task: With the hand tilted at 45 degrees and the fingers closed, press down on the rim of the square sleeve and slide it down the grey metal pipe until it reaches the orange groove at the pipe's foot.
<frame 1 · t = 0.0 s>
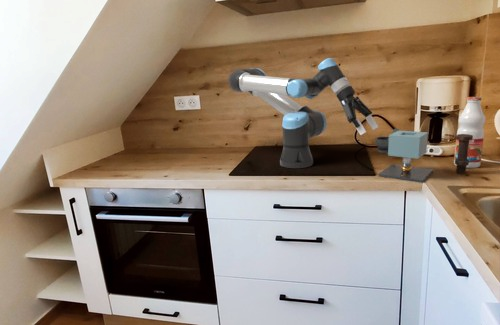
hand: (370, 130, 148), 15 cm above the countertop, tool tilted 35°, fingers open, 13 cm apart
pipe stand: (405, 174, 137), on the countertop
sleeve: (407, 143, 134), point 12 cm above the countertop, slide at 7.2 cm
bolt: (460, 173, 134), on the countertop
mortar and pestle: (386, 152, 173), on the countertop
fruit juice: (466, 165, 144), on the countertop
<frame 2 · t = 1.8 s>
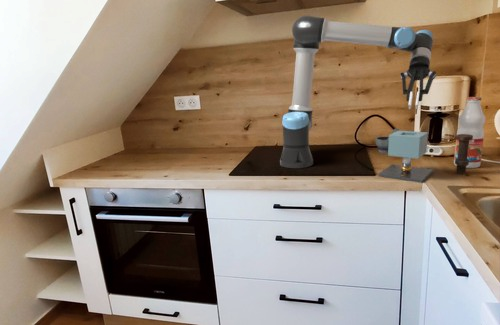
hand: (413, 106, 133), 26 cm above the countertop, tool tilted 45°, fingers closed
nothing on the countertop moved.
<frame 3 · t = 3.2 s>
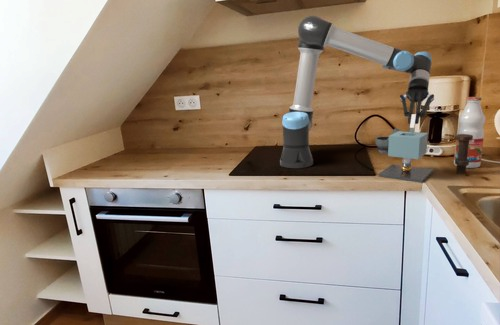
hand: (412, 129, 135), 17 cm above the countertop, tool tilted 45°, fingers closed
sleeve: (407, 144, 134), point 12 cm above the countertop, slide at 7.0 cm, touching gripper
everything else where it was.
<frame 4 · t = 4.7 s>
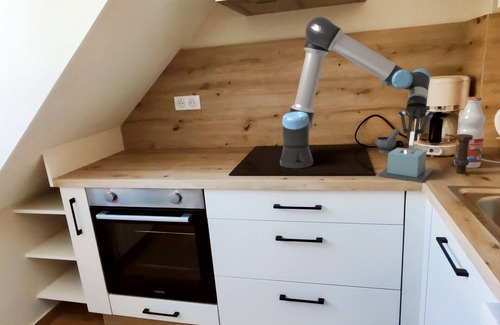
hand: (411, 146, 137), 10 cm above the countertop, tool tilted 45°, fingers closed
sleeve: (406, 161, 136), point 5 cm above the countertop, slide at 0.1 cm, touching gripper
everything else where it was.
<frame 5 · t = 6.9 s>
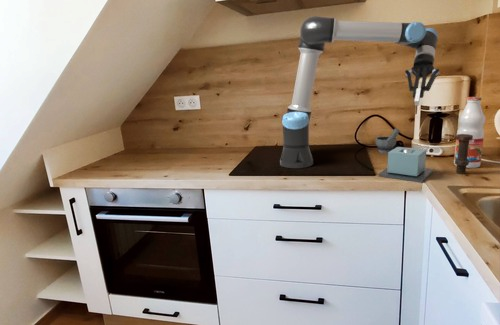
hand: (416, 103, 137), 27 cm above the countertop, tool tilted 45°, fingers closed
sleeve: (406, 160, 136), point 5 cm above the countertop, slide at 0.4 cm
everything else where it was.
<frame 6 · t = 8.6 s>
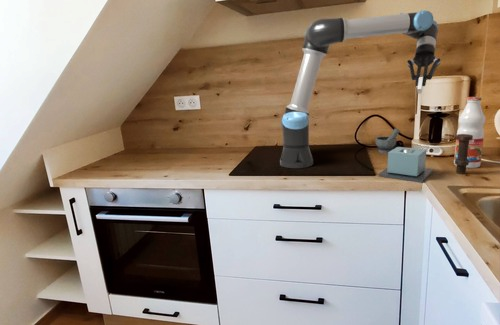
hand: (419, 91, 142), 31 cm above the countertop, tool tilted 45°, fingers closed
nothing on the countertop moved.
at the end: sleeve slide at 0.4 cm; the gripper is holding nothing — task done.
